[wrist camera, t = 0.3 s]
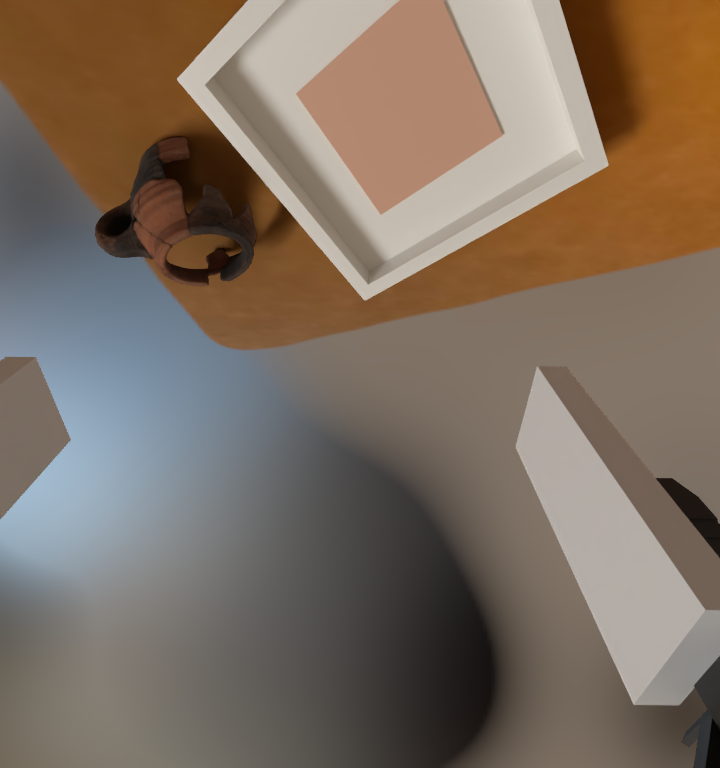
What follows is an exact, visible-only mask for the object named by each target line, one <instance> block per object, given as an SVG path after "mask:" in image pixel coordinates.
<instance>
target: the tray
mask: <svg viewBox="0 0 720 768" xmlns="http://www.w3.org/2000/svg"><path fill="white" fill-rule="evenodd" d="M177 80H178V81H179V83H180V84H181V85H182V86H183V87H184V89H185V90H186V91H187V92H188V93H189V94H190V96H191V97H192V98H193V99H194V100H195V101H196V103H197V104H198V105H199V106H200V107H201V109H202V110H203V111H204V112H205V113H206V114H207V116H208V117H209V118H210V119H211V120H212V122H213V123H214V124H215V125H216V126H217V127H218V129H219V130H220V131H221V132H222V133H223V134H224V136H225V137H226V138H227V139H228V140H229V142H230V143H231V144H232V145H233V146H234V147H235V149H236V150H237V151H238V152H239V153H240V154H241V156H242V157H243V158H244V159H245V160H246V162H247V163H248V164H249V165H250V166H251V167H252V169H253V170H254V171H255V172H256V173H257V174H258V176H259V177H260V178H261V179H262V180H263V182H264V183H265V184H266V185H267V186H268V187H269V189H270V190H271V191H272V192H273V193H274V194H275V196H276V197H277V198H278V199H279V200H280V202H281V203H282V204H283V205H284V206H285V207H286V209H287V210H288V211H289V212H290V213H291V214H292V216H293V217H294V218H295V219H296V220H297V222H298V223H299V224H300V225H301V226H302V227H303V229H304V230H305V231H306V232H307V233H308V234H309V236H310V237H311V238H312V239H313V240H314V242H315V243H316V244H317V245H318V246H319V247H320V249H321V250H322V251H323V252H324V253H325V254H326V256H327V257H328V258H329V259H330V260H331V262H332V263H333V264H334V265H335V266H336V267H337V269H338V270H339V271H340V272H341V273H342V274H343V276H344V277H345V278H346V279H347V280H348V282H349V283H350V284H351V285H352V286H353V287H354V289H355V290H356V291H357V292H358V293H359V294H360V296H361V297H362V298H363V299H364V300H367V299H369V298H371V297H372V296H374V295H376V294H378V293H380V292H382V291H383V290H385V289H387V288H389V287H391V286H392V285H394V284H396V283H398V282H400V281H401V280H403V279H405V278H407V277H409V276H410V275H412V274H414V273H416V272H418V271H419V270H421V269H423V268H425V267H427V266H428V265H430V264H432V263H434V262H436V261H437V260H439V259H441V258H443V257H445V256H446V255H448V254H450V253H452V252H454V251H455V250H457V249H459V248H461V247H463V246H464V245H466V244H468V243H470V242H472V241H473V240H475V239H477V238H479V237H481V236H482V235H484V234H486V233H488V232H490V231H491V230H493V229H495V228H497V227H499V226H501V225H502V224H504V223H506V222H508V221H510V220H511V219H513V218H515V217H517V216H519V215H520V214H522V213H524V212H526V211H528V210H529V209H531V208H533V207H535V206H537V205H538V204H540V203H542V202H544V201H546V200H547V199H549V198H551V197H553V196H555V195H556V194H558V193H560V192H562V191H564V190H565V189H567V188H569V187H571V186H573V185H574V184H576V183H578V182H580V181H582V180H583V179H585V178H587V177H589V176H591V175H592V174H594V173H596V172H598V171H600V170H601V169H603V168H605V167H607V166H609V165H608V161H607V158H606V155H605V151H604V148H603V145H602V141H601V138H600V135H599V131H598V128H597V125H596V121H595V118H594V115H593V111H592V108H591V105H590V101H589V98H588V95H587V91H586V88H585V85H584V81H583V78H582V75H581V71H580V68H579V65H578V61H577V58H576V55H575V51H574V48H573V45H572V41H571V38H570V35H569V31H568V28H567V25H566V21H565V18H564V15H563V11H562V8H561V5H560V1H559V0H248V1H247V2H246V3H245V4H244V5H243V6H242V8H241V9H240V10H239V11H238V12H237V13H236V14H235V15H234V16H233V18H232V19H231V20H230V21H229V22H228V23H227V24H226V25H225V26H224V28H223V29H222V30H221V31H220V32H219V33H218V34H217V35H216V36H215V38H214V39H213V40H212V41H211V42H210V43H209V44H208V45H207V46H206V48H205V49H204V50H203V51H202V52H201V53H200V54H199V55H198V56H197V58H196V59H195V60H194V61H193V62H192V63H191V64H190V65H189V66H188V68H187V69H186V70H185V71H184V72H183V73H182V74H181V75H180V76H179V78H178V79H177Z"/></svg>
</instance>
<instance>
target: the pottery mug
mask: <svg viewBox="0 0 720 768" xmlns="http://www.w3.org/2000/svg"><path fill="white" fill-rule="evenodd" d="M189 158H190V152H189V148H188V140H187V138H185V137H174V138H169V139H165V140H163V141H160V142H159V143H156V144H154V145H153V146H151V147H150V148H149V149H148V150H147V151H146V152H145V153H144V155H143V156H142V158H141V161H140V165H139V170H138V174H137V177H136V179H135V181H134V185H133V189H132V192H131V194H130V195H131V198H130V199H129V200H128V201H127V202H126V203H124V204H122V205H120V206H118V207H115V208H114V209H112V210H110V211H108V212H107V213H106V214H104V215H103V216H102V217H101V218H100V219H99V221H98V223H97V224H96V228H95V236H96V239H97V243H98V245H99V246H100V247H101V248H102V249H104V250H105V252H107V253H108V254H110V255H112V256H115V257H121V258H129V257H146V258H149V259H155V263H156V266H157V268H158V269H159V271H160V272H161V273H162V274H164V275H165V276H166V277H168V278H169V279H171V280H173V281H175V282H178V283H181V284H186V285H192V286H207V285H209V279H208V276H210V275H216V274H219V273H221V274H220V278H221V280H222V281H230V280H233V279H234V278H236V277H238V276H239V275H241V274H242V273H244V272H245V271H246V270H247V269H248V268H249V266H250V264H251V262H252V259H253V256H254V250H253V247H254V245H255V242H256V236H257V232H256V229H255V226H254V223H253V218H252V212H251V208H250V205H249V203H246V204H245V206H244V208H243V210H242V211H241V212H240V213H238V214H237V215H236V216H235V217H234V218H233V216H232V210H231V208H230V206H229V204H228V203H227V202H226V201H225V199H224V198H223V197H222V194H221V192H220V190H218V189H217V188H215V187H213V186H210V185H204V186H203V197H202V198H201V199H200V201H199V202H198V204H197V206H196V207H195V208H194V209H193V210H192V212H191V213H190V214H188V213H187V211H186V208H185V204H184V199H183V190H182V187H181V186H180V185H179V183H178V182H177V181H176V180H174V179H166V175H165V173H164V170H163V166H164V164H165V163H168V162H171V161H176V160H184V159H189ZM201 234H216V235H222V236H226V237H229V238H231V239H234V240H235V241H236V242H238V243H239V244H240V246H241V247H242V248H243V251H242V252H241V253H239V254H236V255H234V256H231V257H229V256H228V255H227V254H226V253H225V252H224V250H222V249H219V250H217V251H214V252H212V253H211V254H209V255H208V256H207V257H206V261H207V263H208V269H188V268H182V267H179V266H176V265H173V264H170V263H169V262H168V261H167V259H166V257H167V254H168V251H169V250H170V249H171V248H172V246H173V245H175V244H176V243H178V242H179V241H181V240H183V239H185V238H188V237H190V236H192V235H201Z"/></svg>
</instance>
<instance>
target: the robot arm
mask: <svg viewBox="0 0 720 768" xmlns="http://www.w3.org/2000/svg"><path fill="white" fill-rule="evenodd" d="M70 440H71V439H70V437H69V435H68V432H67V430H66V428H65V425H64V423H63V420H62V418H61V416H60V414H59V411H58V409H57V406H56V404H55V402H54V399H53V397H52V394H51V393H50V390H49V387H48V385H47V383H46V380H45V378H44V375H43V373H42V371H41V368H40V366H39V364H38V361H37V359H36V357H5V358H4V359H3V360H1V361H0V519H1V518H2V517H3V516H4V515H5V513H6V512H7V511H8V510H9V509H10V508H11V507H12V506H13V504H14V503H15V502H16V501H17V500H18V499H19V498H20V496H21V495H22V494H23V493H24V492H25V491H26V490H27V489H28V488H29V486H30V485H31V484H32V483H33V482H34V481H35V480H36V479H37V477H38V476H39V475H40V474H41V473H42V472H43V470H44V469H45V468H46V467H47V466H48V465H49V464H50V463H51V462H52V460H53V459H54V458H55V457H56V456H57V455H58V454H59V453H60V451H61V450H62V449H63V448H64V447H65V446H66V444H68V442H69V441H70ZM516 449H517V451H518V453H519V456H520V458H521V460H522V462H523V464H524V467H525V469H526V471H527V473H528V475H529V477H530V480H531V482H532V484H533V486H534V488H535V491H536V493H537V495H538V497H539V499H540V501H541V504H542V506H543V508H544V510H545V512H546V515H547V517H548V519H549V521H550V523H551V525H552V528H553V530H554V532H555V534H556V536H557V539H558V541H559V543H560V545H561V547H562V549H563V552H564V554H565V556H566V558H567V560H568V562H569V565H570V567H571V569H572V571H573V573H574V576H575V577H576V580H577V582H578V584H579V586H580V589H581V591H582V593H583V595H584V597H585V599H586V602H587V603H588V606H589V608H590V610H591V613H592V615H593V617H594V619H595V621H596V623H597V625H598V628H599V630H600V632H601V634H602V637H603V639H604V641H605V643H606V645H607V647H608V649H609V652H610V654H611V656H612V658H613V660H614V663H615V665H616V667H617V669H618V671H619V673H620V676H621V678H622V680H623V682H624V684H625V687H626V689H627V691H628V693H629V695H630V697H631V700H632V702H633V704H634V705H680V703H682V701H683V700H684V699H685V698H686V697H687V696H688V695H689V693H690V692H691V691H692V690H693V689H694V688H696V690H697V692H698V694H699V695H700V697H701V699H702V701H703V702H704V704H705V705H706V707H707V709H708V710H707V711H706V712H705V713H704V714H703V715H702V716H701V717H700V718H699V719H698V720H697V721H696V722H695V723H694V724H693V725H692V726H691V727H690V728H689V729H688V730H687V732H686V734H685V736H684V738H683V740H682V741H681V742H683V743H684V744H686V745H687V746H688V747H689V746H691V744H692V743H693V742H695V741H696V740H697V739H698V742H697V748H696V755H695V761H694V767H693V768H720V524H719V523H718V521H717V518H716V517H715V516H714V514H713V513H712V512H711V511H710V510H709V509H708V508H707V506H706V505H705V504H704V503H703V502H702V501H701V500H700V499H699V497H697V496H696V495H695V494H693V493H692V492H690V491H689V490H688V489H686V488H685V487H683V486H682V485H681V484H679V483H678V482H677V481H675V480H674V479H672V478H655V477H654V476H653V474H652V473H651V472H650V471H649V470H648V468H647V467H646V466H645V464H644V463H643V462H642V461H641V459H640V458H639V457H638V456H637V454H636V453H635V452H634V451H633V449H632V448H631V447H630V446H629V445H628V443H627V442H626V441H625V439H624V438H623V437H622V436H621V435H620V433H619V432H618V431H617V430H616V428H615V427H614V426H613V425H612V423H611V422H610V421H609V420H608V419H607V417H606V416H605V415H604V413H603V412H602V411H601V410H600V408H599V407H598V406H597V405H596V403H595V402H594V401H593V400H592V398H591V397H590V396H589V395H588V393H587V392H586V391H585V390H584V388H583V387H582V386H581V385H580V383H579V382H578V381H577V380H576V378H575V377H574V376H573V375H572V374H571V372H570V371H569V370H568V368H567V367H546V366H537V369H536V373H535V377H534V380H533V384H532V388H531V391H530V395H529V399H528V403H527V407H526V411H525V414H524V418H523V421H522V425H521V429H520V433H519V436H518V440H517V444H516Z"/></svg>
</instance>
